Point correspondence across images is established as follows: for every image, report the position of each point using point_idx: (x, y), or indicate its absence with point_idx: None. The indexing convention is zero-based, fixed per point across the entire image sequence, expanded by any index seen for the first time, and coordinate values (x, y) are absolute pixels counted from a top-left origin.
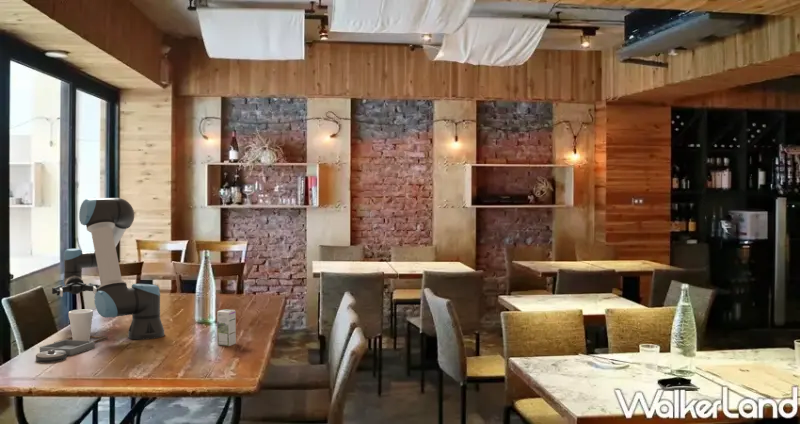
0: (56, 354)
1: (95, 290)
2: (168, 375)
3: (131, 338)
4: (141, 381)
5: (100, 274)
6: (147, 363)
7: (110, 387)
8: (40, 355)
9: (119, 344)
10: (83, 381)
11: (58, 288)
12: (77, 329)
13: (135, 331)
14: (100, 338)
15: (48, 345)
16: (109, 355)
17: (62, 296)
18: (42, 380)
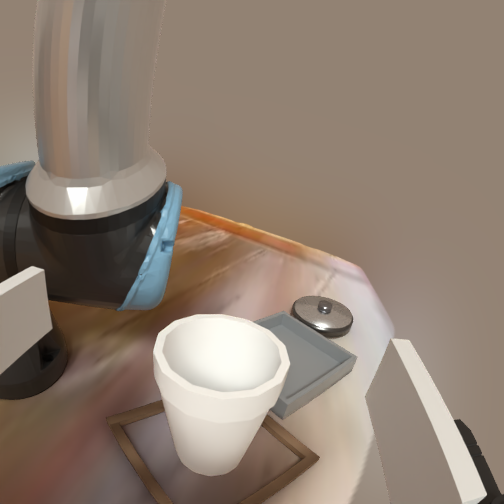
0: (313, 300)
1: (42, 287)
2: (194, 224)
3: (66, 360)
4: (226, 226)
5: (151, 101)
6: (184, 247)
7: (258, 230)
8: (343, 307)
9: (133, 340)
10: (280, 245)
11: (497, 497)
12: (239, 390)
13: (59, 329)
14: (141, 412)
15: (336, 368)
16: (207, 291)
17: (366, 397)
18: (324, 263)
